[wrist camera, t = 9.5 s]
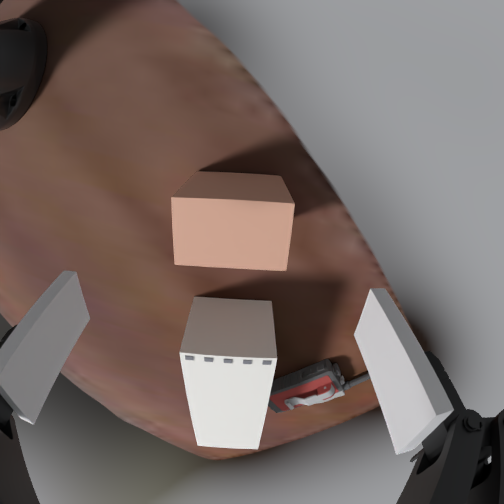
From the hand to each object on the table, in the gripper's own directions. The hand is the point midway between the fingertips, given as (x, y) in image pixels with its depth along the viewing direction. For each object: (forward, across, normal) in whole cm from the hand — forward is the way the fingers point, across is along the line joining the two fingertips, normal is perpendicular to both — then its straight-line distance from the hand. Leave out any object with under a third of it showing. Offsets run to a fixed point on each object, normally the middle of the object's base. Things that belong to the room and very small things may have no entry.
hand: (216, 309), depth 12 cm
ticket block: (+17, 0, -23) cm, 29 cm away
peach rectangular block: (+17, 0, 0) cm, 17 cm away
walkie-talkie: (+18, +14, -27) cm, 36 cm away
